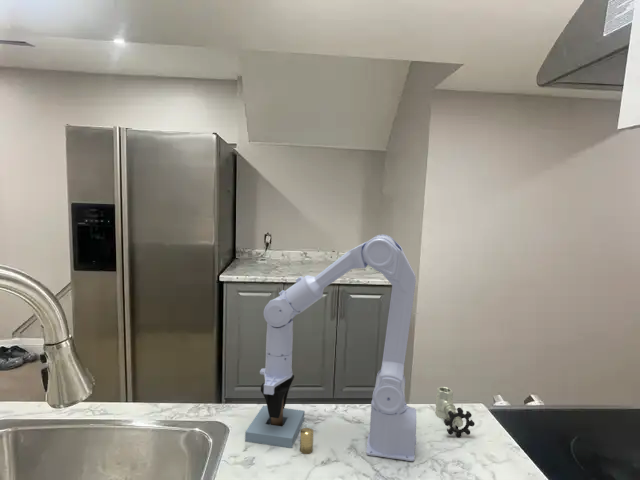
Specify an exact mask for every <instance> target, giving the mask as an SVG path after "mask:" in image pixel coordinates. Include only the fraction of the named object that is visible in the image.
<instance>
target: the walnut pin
mask: <svg viewBox="0 0 640 480" xmlns="http://www.w3.org/2000/svg"><path fill="white" fill-rule="evenodd" d="M283 399H284V398H283ZM270 425H275V426H282V427H283V402H282V408H281V413H280V416H279V418H273V417H271V424H270Z"/></svg>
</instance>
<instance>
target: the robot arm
mask: <svg viewBox="0 0 640 480" xmlns="http://www.w3.org/2000/svg"><path fill="white" fill-rule="evenodd" d="M403 249H404V248H403V247H402V246H401V245H400V244H399V243H398V242H397V241H396V240H395V239H394V238H393V237H391V236H390V235H387V234H378V235H375V236H373V237H372V238H371V239H369V240H366V241H365V242H363V243H361V244H359V245H357V246H356V247H353V248H351V249H349V250H348V251H346V252H345V253H344V254H343V255H341V256H339V258H337V259H336V260H335V261H333V262H332V263H331V264H330V265H329V266H327V267H326V268H324V269H323V270H322V271H321V272H319V273H318V274H317V275H315V276H314V275H309V274H307V275H305V276H302V275H300V276H299V277H297V278H296V279H295V283H294V284H293V285H291V286H290V287H288V288H287V289H286V290H284V289H282V290H281V291H280V292H278V295H279V296H276V297H275V298H274V299H270V300H269V301H268V303H266V305H265V306H264V309H263V319H264V321H265V322H266V334H265V335H266V337H265V338H266V339H265V341H266V342H265V343H266V344H265V367H262V368H261V369H260V370H259V374H260V375H262V376H263V377H264V382H263V383H262V384H261V385H260V392H261V394H262V396H263V398H264V399H265V400H264V401H265V403H266V406H267V408H268V413H269V417H273V418H279V416H280V413H281V408H282V402H283V409H284V408H285V407H286V403H287V400H288V394H289V390H290V387H291V386H292V383H293V381H294V379H295V375H294V374H293V369H292V368H293V365H292V364H293V362H292V361H293V339H294V318H295V317H296V316H297V315H299V314H301V313H303V312H304V311H305V310H307V309H308V308H309V307H311V306H312V305H313V304H315V303H316V302H318V301H319V300H321V299H322V298H323V295H324V290H325V288H326V287H328V286H330V285H331V284H333V283H334V282H336V281H337V280H338V279H340V278H341V277H343V276H344V275H346V274H347V273H348V272H351V270H353V269H355V270H356V269H357V270H358V269H366V268H367V267H368V266H369V267H370V268H371V269H374V270H375V271H377V272H378V273H380V274H382V276H384V278H385V279H386V280H387V281H388V282H389V283H390V285H391V294H390V300H389V301H390V302H389V308H388V309H389V310H388V315H387V316H388V317H387V322H386V323H387V324H386V331H385V339H384V346H383V355H382V361H381V367H380V370H378V372H377V375H376V378H375V385H374V389H373V392H372V400H371V402H370V404H371V405H370V420H369V421H370V423H369V424H370V425H369V432H368V434H367V443H366V450H365V453H366V455H367V456H372V457H373V456H374V457H379V458H380V457H381V458H387V459H393V460H400V461H407V462H414V461H415V454H416V453H415V452H416V445H417V409H416V408H415V407H412V406H408V405H407V402H406V395H405V388H406V377H405V374H404V370H405V362H406V355H407V347H408V341H409V333H410V326H411V317H412V311H413V303H414V297H415V289H416V283H417V279H416V277H417V276H416V274H415V271H414V269H413V268H412V266H411V264H410V261H409V259H408V258H407V256H406V254H405V252H404V250H403ZM283 398H284V399H283Z"/></svg>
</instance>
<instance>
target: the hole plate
mask: <svg viewBox="0 0 640 480" xmlns="http://www.w3.org/2000/svg"><path fill="white" fill-rule="evenodd" d="M305 415H306V413H305V410H301V409H294V408H285V407H284V409H283V426H275V425H271V417H269V413H268V408H267V405H265V404H263V405H262V406H261V408H260V410H259V411H258V413H257V414H256V415H255V417H254V419H253V420H252V421H251V423H250V424H249V425H248V427H247V429H246V430H245V434H244V435H245V436H244V437H245V438H244V439H245V442H249V443H254V444H262V445H268V446H269V445H270V446H277V447H283V448H289V449H292V448H293V446H294V444H295V442H296V440H297V437H298V435H299V432H300V431H301V429H302V425H303V423H304V421H305Z"/></svg>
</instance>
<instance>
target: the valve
mask: <svg viewBox="0 0 640 480" xmlns="http://www.w3.org/2000/svg"><path fill="white" fill-rule="evenodd" d="M453 398H454V391H453V389H451V387H447V386H438V387H437V388H436V397H435V416H436V417H437V418H440V419H444V420H443V424H444V425H445V426H446V427H449V428H446V432H447V434H448V435H453V434H455V437H456V438H457V439H460V438H462V436H463V435H462V434H463V433H464V434H465V435H466V436H469V435H471V430H470V429H469V427H474V426H475V421H473V419H471V417H472V415H473V414H472V413H471V412H470V411H469V410H466V411H465V413H464V410H463V409H462V407H459V406H458V407H457V408H456V406H455V405H454V400H453ZM463 419H465V421H466V422H465V425H464V420H463ZM453 424H454V426H453ZM463 425H464V427H462V426H463ZM461 427H462V428H461Z"/></svg>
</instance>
